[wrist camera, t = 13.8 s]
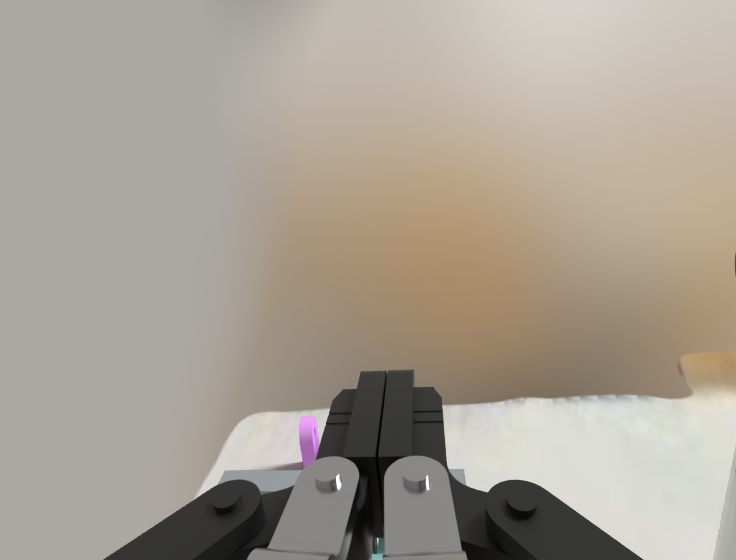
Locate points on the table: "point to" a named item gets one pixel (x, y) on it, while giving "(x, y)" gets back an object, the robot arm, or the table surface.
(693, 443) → the table surface
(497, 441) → the table surface
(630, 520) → the table surface
